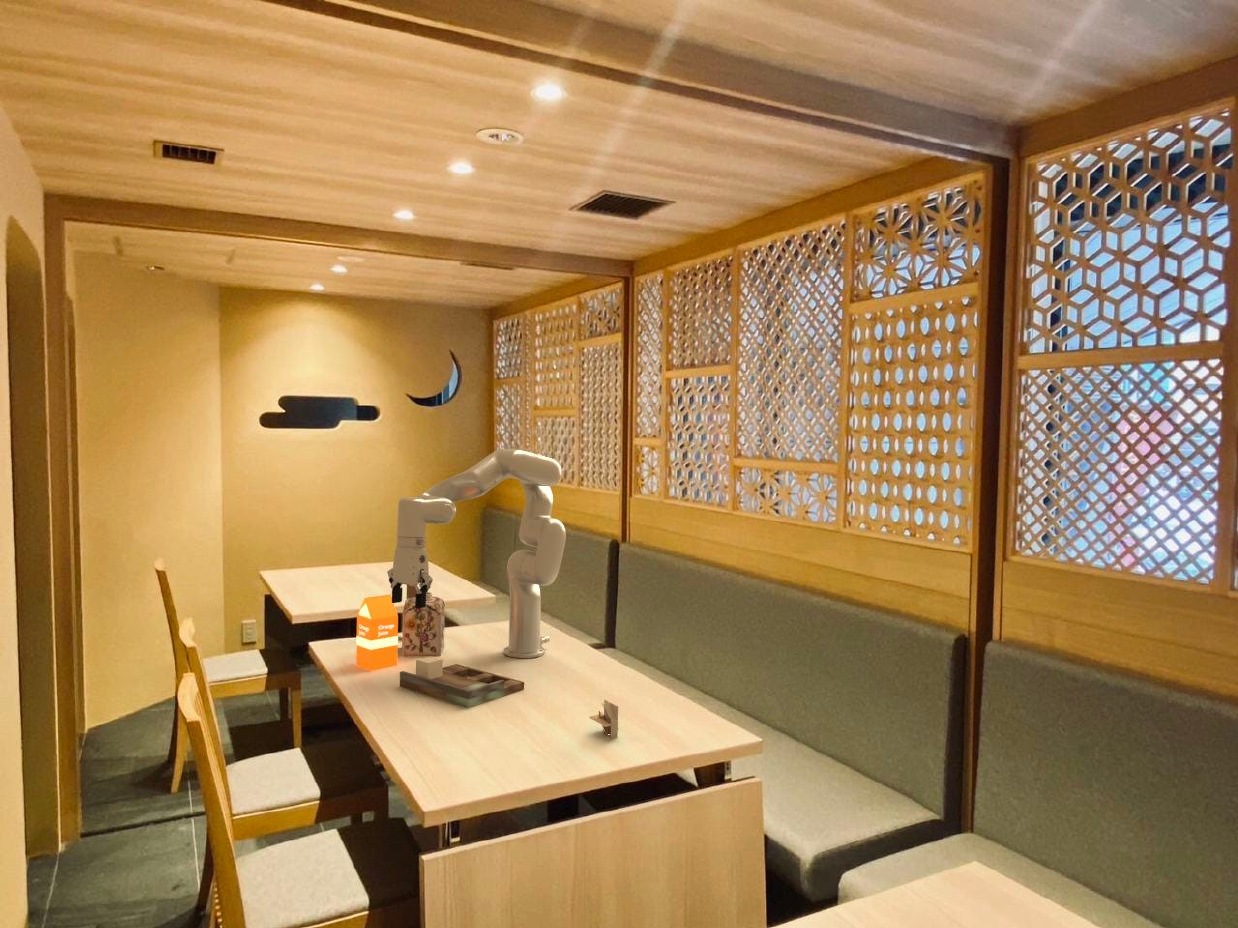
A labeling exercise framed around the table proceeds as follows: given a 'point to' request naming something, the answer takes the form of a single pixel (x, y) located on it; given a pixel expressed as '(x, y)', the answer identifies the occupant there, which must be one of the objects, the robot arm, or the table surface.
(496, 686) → the board
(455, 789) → the table surface
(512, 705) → the table surface
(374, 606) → the orange juice
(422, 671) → the block
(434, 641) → the decorative jar
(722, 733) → the table surface
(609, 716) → the architectural model
